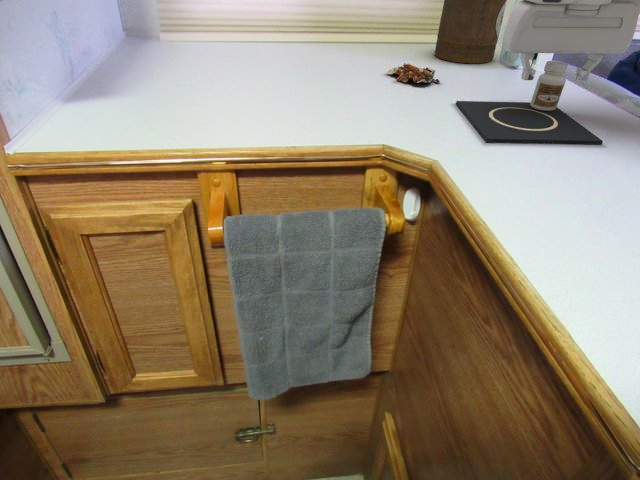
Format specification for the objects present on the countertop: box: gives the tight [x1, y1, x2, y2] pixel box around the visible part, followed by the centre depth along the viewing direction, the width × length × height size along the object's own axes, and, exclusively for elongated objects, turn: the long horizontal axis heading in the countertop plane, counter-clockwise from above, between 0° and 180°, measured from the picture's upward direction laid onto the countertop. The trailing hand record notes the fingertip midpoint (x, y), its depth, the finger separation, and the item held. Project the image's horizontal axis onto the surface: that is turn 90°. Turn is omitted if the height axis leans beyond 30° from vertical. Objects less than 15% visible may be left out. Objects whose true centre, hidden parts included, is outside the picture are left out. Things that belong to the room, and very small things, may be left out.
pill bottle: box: [530, 60, 569, 111], centre depth 75 cm, size 4×4×8 cm
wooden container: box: [434, 0, 508, 65], centre depth 104 cm, size 15×15×22 cm
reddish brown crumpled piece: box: [385, 62, 441, 83], centre depth 92 cm, size 7×12×4 cm, turn 42°
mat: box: [455, 100, 603, 145], centre depth 72 cm, size 18×18×1 cm
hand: (553, 79), depth 74 cm, fingers open, 8 cm apart
